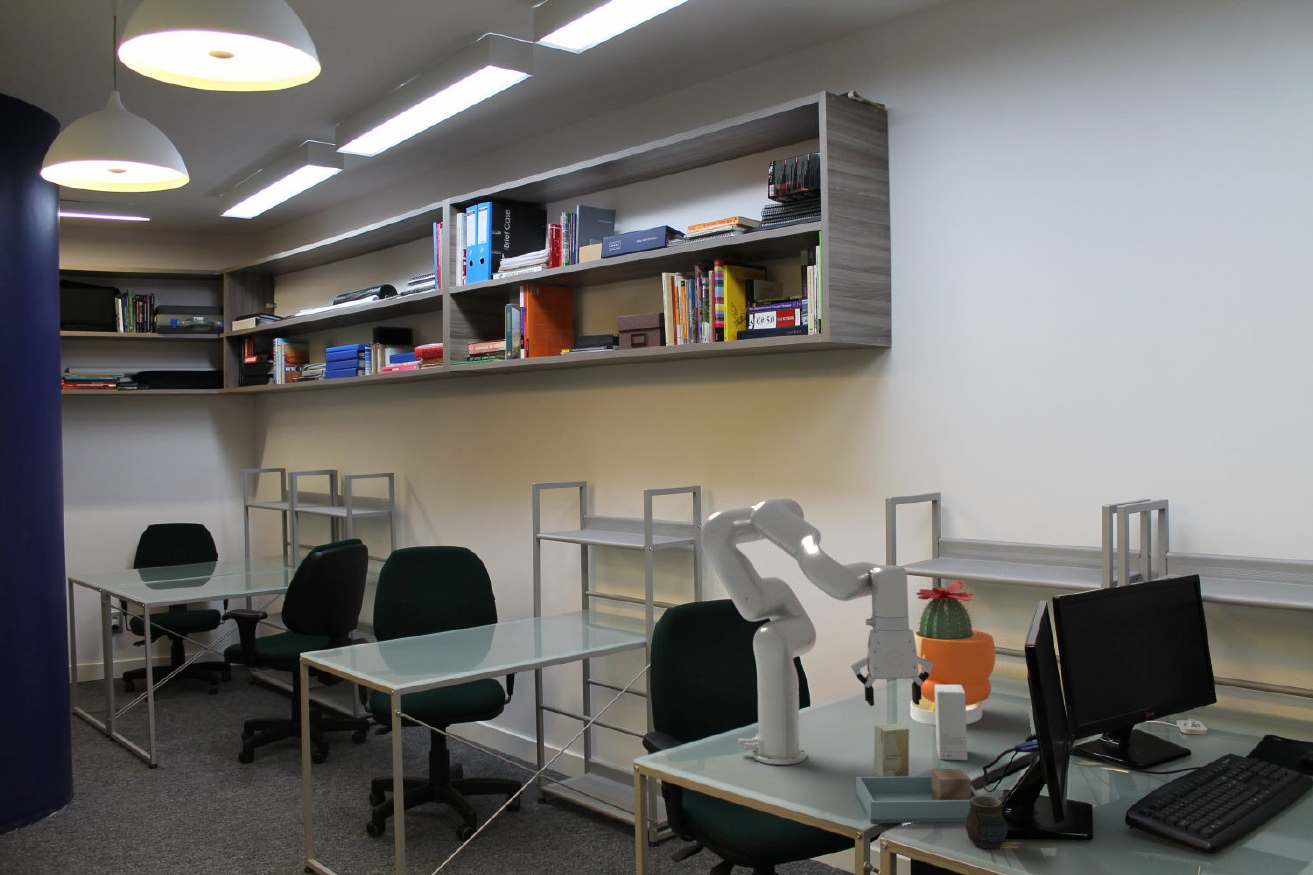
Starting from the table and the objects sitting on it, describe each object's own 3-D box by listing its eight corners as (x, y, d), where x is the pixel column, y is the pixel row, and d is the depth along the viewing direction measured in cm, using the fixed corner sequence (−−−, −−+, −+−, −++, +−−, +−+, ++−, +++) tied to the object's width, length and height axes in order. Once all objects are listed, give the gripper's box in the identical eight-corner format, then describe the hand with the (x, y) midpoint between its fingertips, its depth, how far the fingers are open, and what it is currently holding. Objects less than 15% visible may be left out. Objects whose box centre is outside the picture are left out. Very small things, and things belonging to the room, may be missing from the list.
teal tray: (871, 823, 187) (870, 802, 187) (856, 795, 201) (856, 776, 201) (985, 821, 187) (985, 801, 187) (962, 794, 201) (962, 775, 201)
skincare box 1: (883, 788, 205) (882, 730, 205) (873, 781, 209) (872, 724, 209) (910, 785, 207) (909, 727, 206) (900, 778, 211) (899, 722, 211)
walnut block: (940, 809, 191) (940, 779, 191) (931, 798, 197) (931, 768, 197) (970, 809, 191) (970, 779, 191) (961, 798, 197) (961, 768, 197)
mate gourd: (1000, 835, 180) (999, 782, 180) (1013, 853, 173) (1013, 797, 173) (961, 835, 181) (961, 782, 181) (973, 852, 173) (972, 797, 173)
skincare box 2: (967, 761, 221) (966, 693, 221) (937, 759, 222) (936, 691, 222) (963, 749, 229) (962, 683, 229) (934, 748, 230) (933, 682, 230)
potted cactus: (895, 716, 256) (893, 584, 256) (941, 700, 271) (939, 575, 271) (969, 734, 240) (968, 593, 240) (1014, 716, 255) (1012, 583, 255)
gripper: (853, 628, 204) (856, 709, 204) (936, 625, 204) (938, 707, 204) (846, 621, 211) (849, 700, 211) (926, 619, 211) (928, 698, 211)
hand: (893, 703), depth 207 cm, fingers open, 9 cm apart
